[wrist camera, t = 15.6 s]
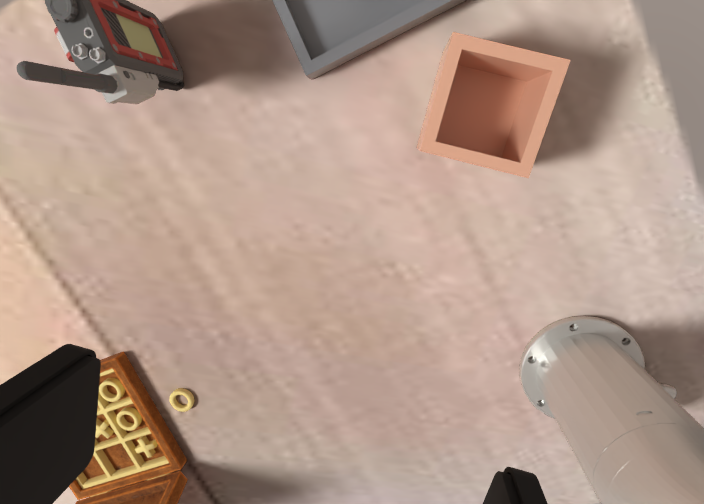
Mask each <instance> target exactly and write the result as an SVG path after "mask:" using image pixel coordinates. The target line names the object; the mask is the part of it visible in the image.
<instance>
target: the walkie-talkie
mask: <svg viewBox="0 0 704 504" xmlns="http://www.w3.org/2000/svg"><path fill="white" fill-rule="evenodd" d="M45 4H46V6H47V9H48V11H49V13H50V14H51V16H52V18H53V20H54V22H55V24H56V26H57V27H56V28H55V30H54V32H55V34H56V36H57V38H58V40H59V42H60V44H61V46H62V48H63V50H64V52H65V54H66V56H67V58H68V60H69V61H71V62H75V64H76V66H77V67H78V68H79V69H80V70H81V71H83V72H79V71H74V70H69V69H64V68H58V67H53V66H48V65H43V64H38V63H33V62H28V61H23V62H20V63H18V65H17V72H18V74H19V75H20V76H21V77H22V78H24V79H26V80H32V81H39V82H46V83H53V84H60V85H67V86H74V87H82V88H89V89H95V90H96V91H98V92H102V94H103V96H104V98H105V100H106V102H107V103H113V104H114V103H117V102H121V103H131V104H139V103H141V102H143V101H145V100H147V99H149V98H151V97H153V96H154V95H155V93H156V90H157V89H158V90H160V89H161V90H164V89H170V90H175V91H178V90H180V89H182V88H183V87H184V83H183V70H182V68H181V66H180V64H179V61H178V59H177V57H176V55H175V52H174V50H173V48H172V46H171V44H170V41H169V39H168V37H167V35H166V32H165V30H164V28H163V26H162V23H161V22H160V21H159V19H158V18H157V17H156V16H155V15H154V14H153V13H151V12H149V11H147V10H145V9H143V8H141V7H139V6H137V5H135V4H133V3H130V2H129V1H126V0H45Z"/></svg>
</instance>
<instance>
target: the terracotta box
mask: <svg viewBox="0 0 704 504" xmlns="http://www.w3.org/2000/svg"><path fill="white" fill-rule="evenodd" d="M570 61H571V60H568V59H564V58H560V57H556V56H552V55H548V54H543V53H539V52H535V51H531V50H527V49H522V48H518V47H514V46H510V45H506V44H501V43H497V42H493V41H489V40H485V39H480V38H476V37H472V36H468V35H464V34H460V33H455V32H453V33H452V35H451V37H450V39H449V41H448V43H447V45H446V47H445V49H444V51H443V54H442V57H441V61H440V64H439V68H438V72H437V75H436V79H435V83H434V86H433V90H432V94H431V97H430V101H429V104H428V108H427V112H426V115H425V119H424V123H423V126H422V130H421V133H420V137H419V141H418V144H417V149H419V150H420V151H422V152H426V153H430V154H434V155H438V156H442V157H446V158H450V159H454V160H458V161H462V162H466V163H470V164H474V165H478V166H482V167H486V168H490V169H494V170H498V171H502V172H506V173H510V174H514V175H518V176H522V177H526V178H529V175H530V173H531V170H532V167H533V164H534V161H535V159H536V156H537V153H538V150H539V147H540V145H541V142H542V139H543V136H544V133H545V131H546V128H547V125H548V122H549V119H550V117H551V114H552V111H553V108H554V105H555V103H556V100H557V97H558V94H559V91H560V89H561V86H562V83H563V80H564V77H565V75H566V72H567V69H568V66H569V63H570Z"/></svg>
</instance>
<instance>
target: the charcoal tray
mask: <svg viewBox="0 0 704 504" xmlns="http://www.w3.org/2000/svg"><path fill="white" fill-rule="evenodd" d="M464 1H466V0H273V3H274V5H275V7H276V9H277V12H278V14H279V16H280V18H281V21H282V23H283V25H284V27H285V30H286V32H287V34H288V36H289V39H290V41H291V43H292V45H293V48H294V50H295V52H296V54H297V56H298V59H299V61H300V63H301V65H302V68H303V70H304V72H305V74H306V76H307V77H309V78H310V79H314V78H316V77H318V76H320V75H322V74H324V73H326V72H328V71H330V70H332V69H334V68H336V67H338V66H340V65H342V64H344V63H345V62H347V61H349V60H351V59H353V58H355V57H357V56H359V55H361V54H363V53H365V52H367V51H369V50H371V49H373V48H375V47H377V46H378V45H380V44H382V43H384V42H386V41H388V40H390V39H392V38H394V37H396V36H398V35H400V34H402V33H404V32H406V31H408V30H410V29H411V28H413V27H415V26H417V25H419V24H421V23H423V22H425V21H427V20H429V19H431V18H433V17H435V16H437V15H439V14H441V13H443V12H444V11H446V10H448V9H450V8H452V7H454V6H456V5H458V4H460V3H462V2H464Z"/></svg>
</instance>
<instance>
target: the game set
mask: <svg viewBox="0 0 704 504" xmlns="http://www.w3.org/2000/svg"><path fill="white" fill-rule="evenodd" d="M100 362H101V369H100V382H99V395H98V408H97V421H96V435H95V448H94V454H93V457H92V459H91V461H90V463H89V464H88V466H87V467H86V468H85V470H84V471H83V472H82V473H81V474H80V475H79V476H78V477H77V478H76V479H75V480H74V481H73V482H72V483H71V484H70V485H69V487H70V489H71V490H72V492H73V493H74V495H75V496H76V498H77V499H78V500H79V501H77V502H76V504H177V503H178V501H179V499H180V496H181V494H182V492H183V489H184V487H185V485H186V482H187V480H188V479H187V478H186V477H185V476H184V474H183V473H182V472H181V471H178V470H181V469H182V468H183V466H184V464H185V463H186V461H187V459H186V457H185V456H184V454H183V452H182V451H181V449H180V447H179V445H178V444H177V442H176V440H175V439H174V437H173V435H172V433H171V432H170V430H169V428H168V427H167V425H166V423H165V422H164V420H163V418H162V416H161V415H160V413H159V411H158V410H157V408H156V406H155V404H154V403H153V401H152V399H151V398H150V396H149V394H148V392H147V391H146V389H145V387H144V386H143V384H142V382H141V381H140V379H139V377H138V375H137V374H136V372H135V370H134V369H133V367H132V365H131V363H130V362H129V360H128V358H127V357H126V355H125V353H124V352H121V353H118V354H115V355H113V356H110V357H107V358H105V359H102V360H100ZM176 395H183V396H185V397H186V398H187V400H188V405H181V404H180V403H178V401H177V400H176ZM170 403H171V405H172V407H173V408H174V409H176V410H178V411H181V412H185V411H188V410H189V409H191V407H192V406H193V404H194V396H193V394H192V393H191V392H190V391H188V390H187V389H184V388H179V389H176V390H175V391H174V392H173V393H172V394H171V396H170ZM175 471H178V472H175ZM171 472H175V473H171ZM170 473H171V474H170ZM144 480H146V481H144ZM141 481H144V482H141ZM137 482H141V483H137ZM134 483H137V484H134ZM130 484H134V485H130ZM127 485H130V486H127ZM124 486H127V487H124ZM120 487H124V488H120ZM117 488H120V489H117ZM114 489H117V490H114ZM112 490H113V491H112ZM86 497H89V498H86ZM83 498H86V499H83ZM80 499H83V500H80Z"/></svg>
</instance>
